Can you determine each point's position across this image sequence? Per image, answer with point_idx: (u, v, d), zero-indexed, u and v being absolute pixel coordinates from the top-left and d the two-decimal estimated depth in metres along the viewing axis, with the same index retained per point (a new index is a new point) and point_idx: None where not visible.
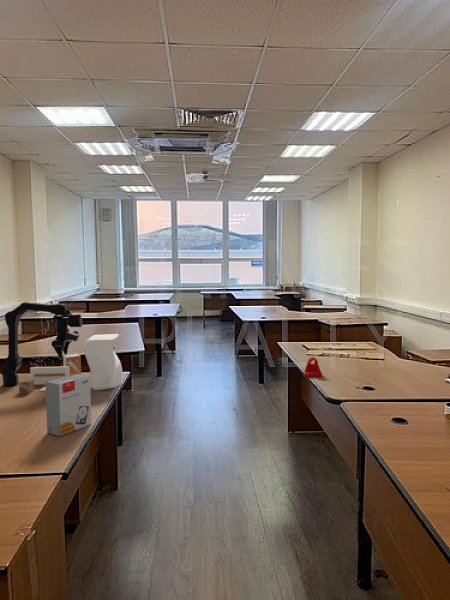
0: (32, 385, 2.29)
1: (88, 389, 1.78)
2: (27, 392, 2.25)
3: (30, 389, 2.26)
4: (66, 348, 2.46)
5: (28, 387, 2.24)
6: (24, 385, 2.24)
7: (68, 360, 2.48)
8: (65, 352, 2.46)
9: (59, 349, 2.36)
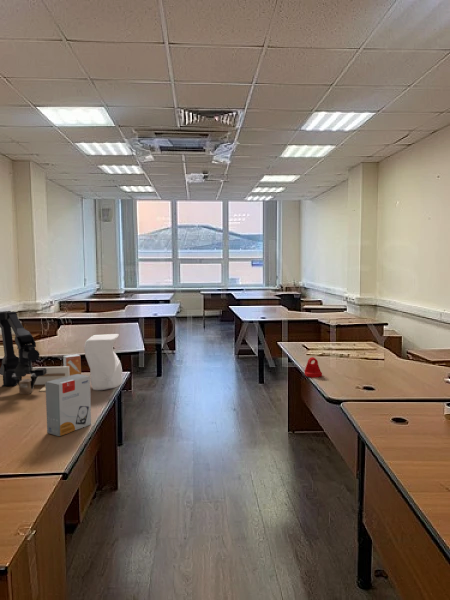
0: None
1: (88, 389, 1.78)
2: (27, 392, 2.25)
3: (30, 389, 2.26)
4: None
5: (28, 386, 2.24)
6: (24, 385, 2.24)
7: (68, 360, 2.48)
8: None
9: None
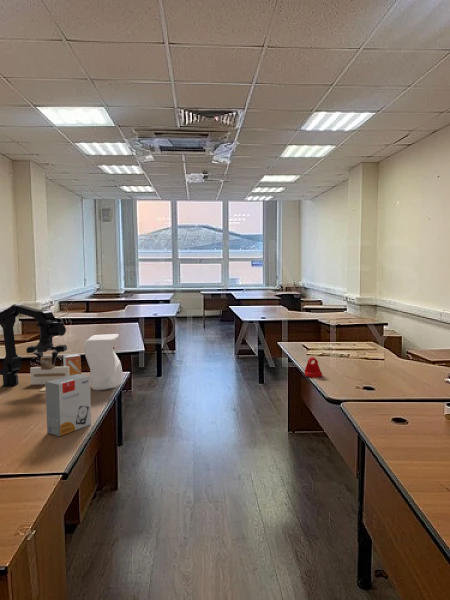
0: None
1: (88, 389, 1.78)
2: (48, 368, 2.29)
3: (51, 365, 2.30)
4: None
5: (49, 362, 2.29)
6: (45, 361, 2.28)
7: (68, 360, 2.48)
8: None
9: None
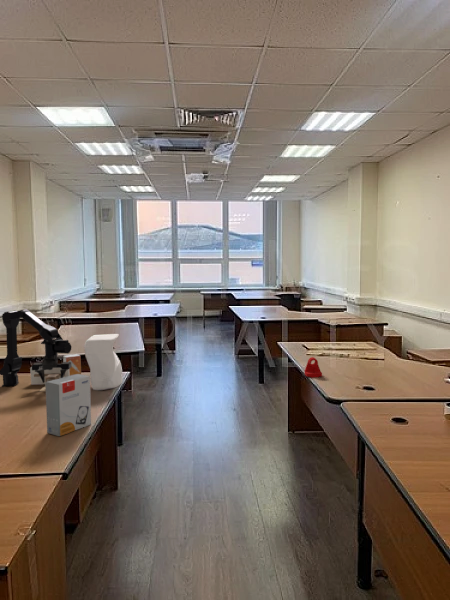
0: None
1: (88, 389, 1.78)
2: None
3: None
4: None
5: None
6: (50, 380, 2.30)
7: (68, 360, 2.48)
8: None
9: None
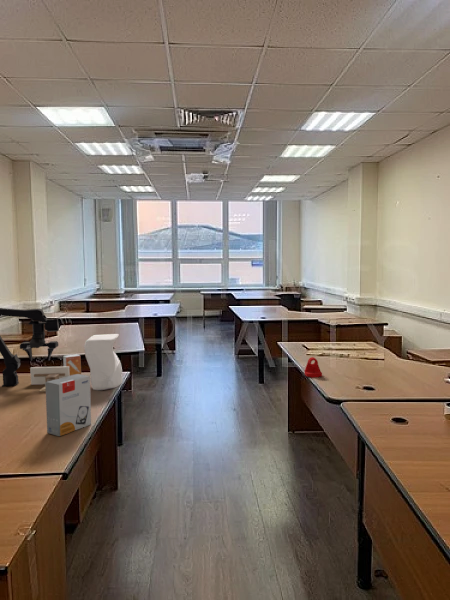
0: None
1: (88, 389, 1.78)
2: None
3: None
4: None
5: None
6: (50, 380, 2.30)
7: (68, 360, 2.48)
8: None
9: None
